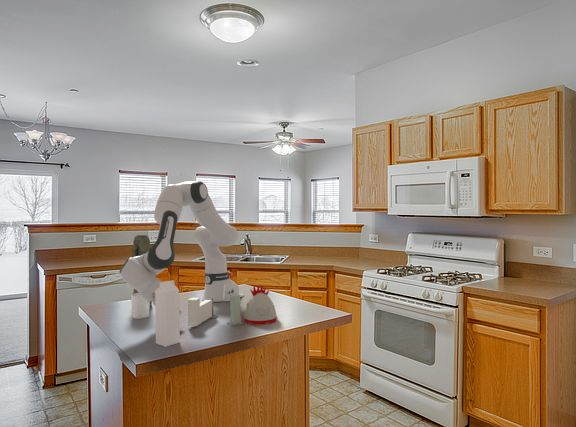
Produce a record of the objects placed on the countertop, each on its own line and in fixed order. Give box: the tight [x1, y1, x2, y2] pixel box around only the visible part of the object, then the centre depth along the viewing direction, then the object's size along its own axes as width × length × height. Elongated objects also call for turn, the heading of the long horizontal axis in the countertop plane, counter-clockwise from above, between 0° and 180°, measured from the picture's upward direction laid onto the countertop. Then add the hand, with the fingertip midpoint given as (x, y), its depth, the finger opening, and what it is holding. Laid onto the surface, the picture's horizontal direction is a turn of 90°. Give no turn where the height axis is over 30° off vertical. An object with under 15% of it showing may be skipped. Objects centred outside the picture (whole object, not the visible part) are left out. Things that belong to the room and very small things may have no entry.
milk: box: [154, 279, 181, 348], centre depth 145 cm, size 6×6×22 cm
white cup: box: [130, 293, 151, 320], centre depth 181 cm, size 8×8×10 cm
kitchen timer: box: [243, 284, 278, 326], centre depth 174 cm, size 14×14×15 cm
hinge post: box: [207, 298, 218, 320], centre depth 179 cm, size 6×6×8 cm
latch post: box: [226, 294, 245, 327], centre depth 168 cm, size 5×5×12 cm
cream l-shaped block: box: [187, 297, 212, 327], centre depth 170 cm, size 16×4×10 cm, turn 166°
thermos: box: [131, 234, 153, 309], centre depth 198 cm, size 9×12×35 cm
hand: (180, 314), depth 164 cm, fingers closed
